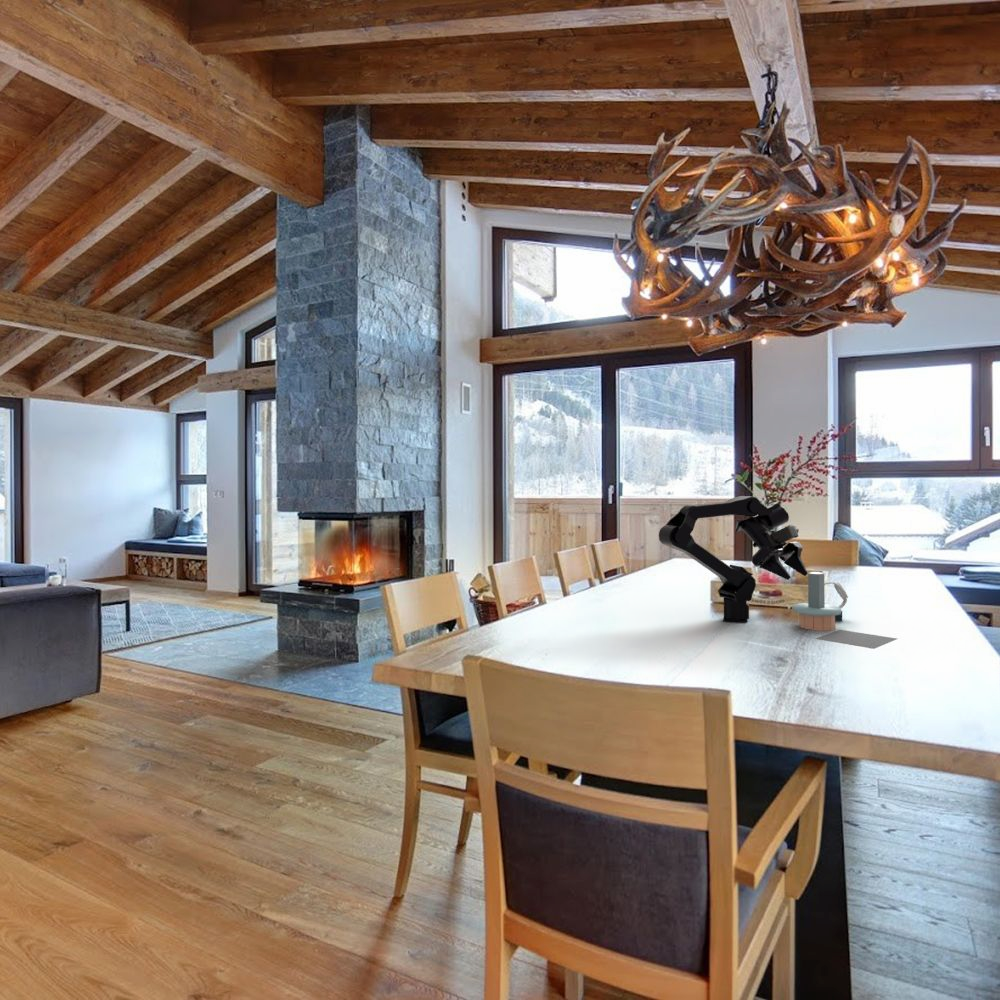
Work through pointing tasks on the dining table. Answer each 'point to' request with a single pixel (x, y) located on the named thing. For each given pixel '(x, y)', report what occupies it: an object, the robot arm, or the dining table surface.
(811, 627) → the bowl
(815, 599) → the domed base post
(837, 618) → the watch
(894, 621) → the dining table surface
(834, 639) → the mat
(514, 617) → the dining table surface
